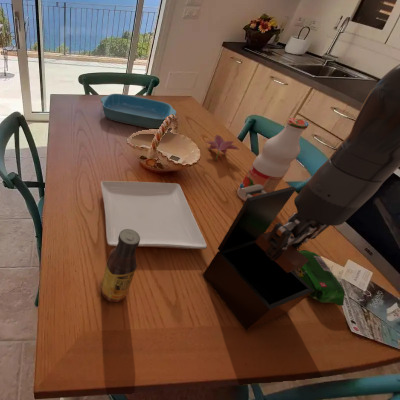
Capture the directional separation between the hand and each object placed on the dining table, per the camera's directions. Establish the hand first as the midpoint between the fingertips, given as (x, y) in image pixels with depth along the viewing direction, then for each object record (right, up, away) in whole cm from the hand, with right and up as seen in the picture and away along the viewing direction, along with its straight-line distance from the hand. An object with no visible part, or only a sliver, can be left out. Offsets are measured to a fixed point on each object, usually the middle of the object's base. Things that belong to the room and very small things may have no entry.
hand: (278, 253), depth 55 cm
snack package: (+18, -10, +14) cm, 25 cm away
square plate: (-20, +5, +28) cm, 35 cm away
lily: (+17, +30, +57) cm, 67 cm away
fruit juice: (+19, +12, +38) cm, 44 cm away
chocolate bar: (0, 0, 0) cm, 0 cm away
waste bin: (-1, -12, +11) cm, 16 cm away
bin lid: (-2, +6, +3) cm, 8 cm away
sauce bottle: (-32, -11, +9) cm, 35 cm away
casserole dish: (-13, +52, +80) cm, 96 cm away
